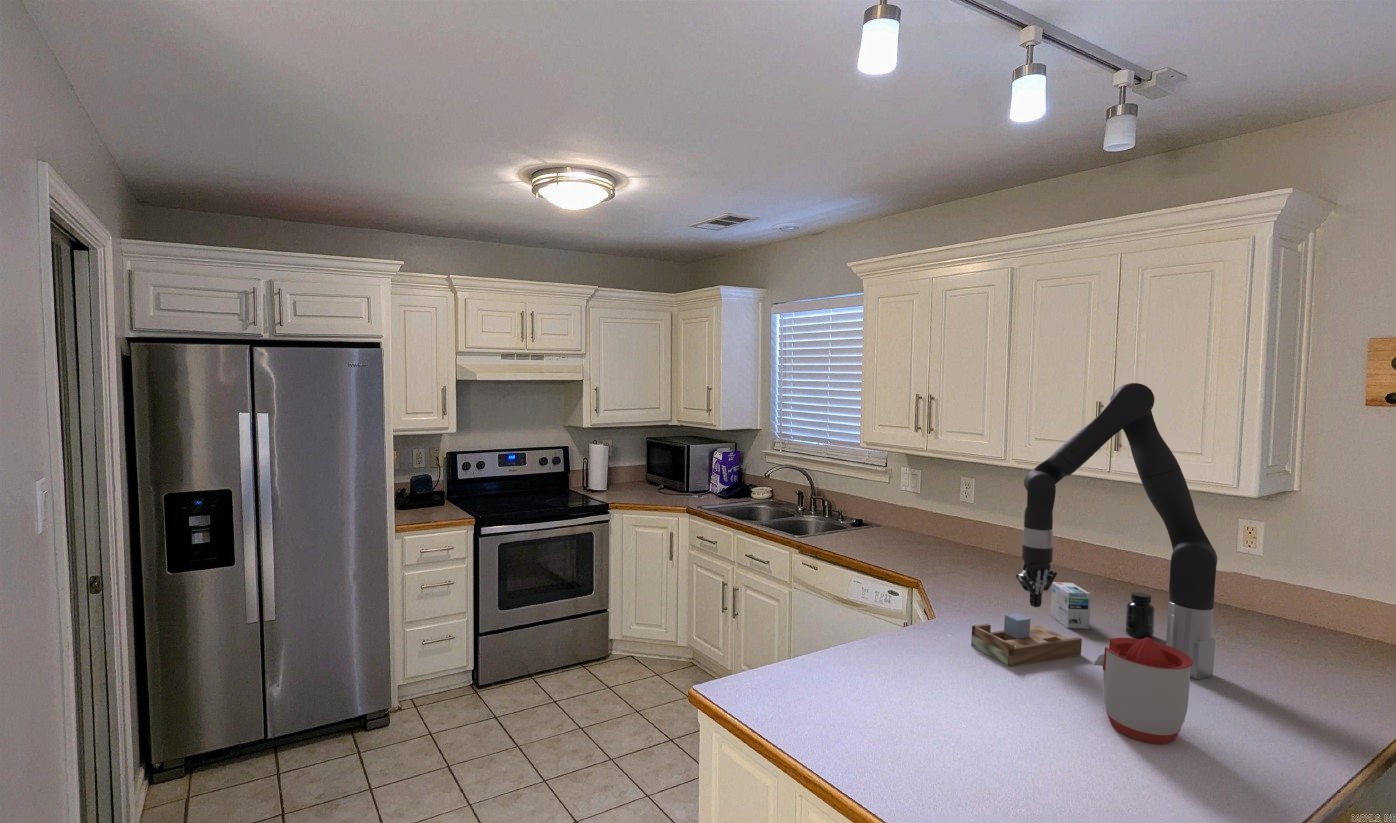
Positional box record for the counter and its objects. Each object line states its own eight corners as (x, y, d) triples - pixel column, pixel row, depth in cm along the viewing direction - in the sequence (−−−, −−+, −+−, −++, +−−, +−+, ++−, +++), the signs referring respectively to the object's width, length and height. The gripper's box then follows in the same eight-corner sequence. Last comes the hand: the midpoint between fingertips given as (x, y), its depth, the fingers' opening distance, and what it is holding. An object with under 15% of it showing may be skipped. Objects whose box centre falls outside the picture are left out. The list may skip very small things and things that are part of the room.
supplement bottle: (1145, 631, 204) (1147, 591, 203) (1158, 640, 197) (1161, 598, 196) (1120, 629, 204) (1123, 589, 203) (1132, 638, 197) (1135, 597, 197)
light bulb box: (1090, 629, 204) (1092, 593, 204) (1066, 628, 204) (1069, 592, 204) (1071, 616, 215) (1073, 582, 214) (1049, 615, 215) (1051, 581, 214)
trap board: (1080, 654, 185) (1082, 634, 185) (1010, 666, 177) (1011, 645, 176) (1038, 635, 198) (1039, 616, 198) (971, 645, 190) (972, 625, 189)
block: (1029, 636, 189) (1030, 618, 189) (1016, 638, 188) (1017, 620, 187) (1016, 630, 193) (1017, 613, 193) (1003, 632, 192) (1004, 614, 191)
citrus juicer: (1097, 702, 159) (1102, 616, 157) (1190, 728, 148) (1197, 636, 146) (1083, 728, 146) (1088, 635, 145) (1183, 759, 135) (1190, 659, 134)
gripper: (1030, 549, 185) (1028, 613, 186) (1067, 545, 190) (1065, 607, 191) (1008, 542, 192) (1006, 604, 193) (1044, 539, 197) (1042, 599, 197)
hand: (1035, 606), depth 192 cm, fingers closed
